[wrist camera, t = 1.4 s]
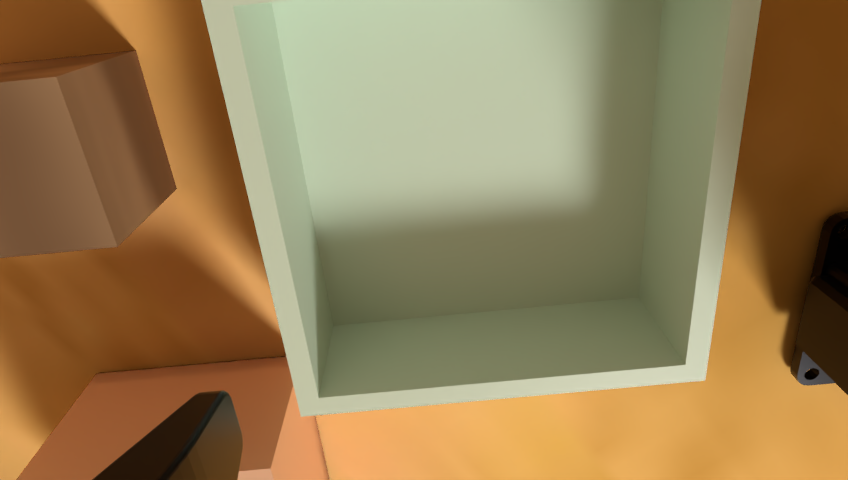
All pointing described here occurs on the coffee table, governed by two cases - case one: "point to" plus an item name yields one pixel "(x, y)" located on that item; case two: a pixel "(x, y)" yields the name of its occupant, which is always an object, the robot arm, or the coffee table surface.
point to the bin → (487, 188)
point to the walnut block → (77, 154)
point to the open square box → (161, 396)
